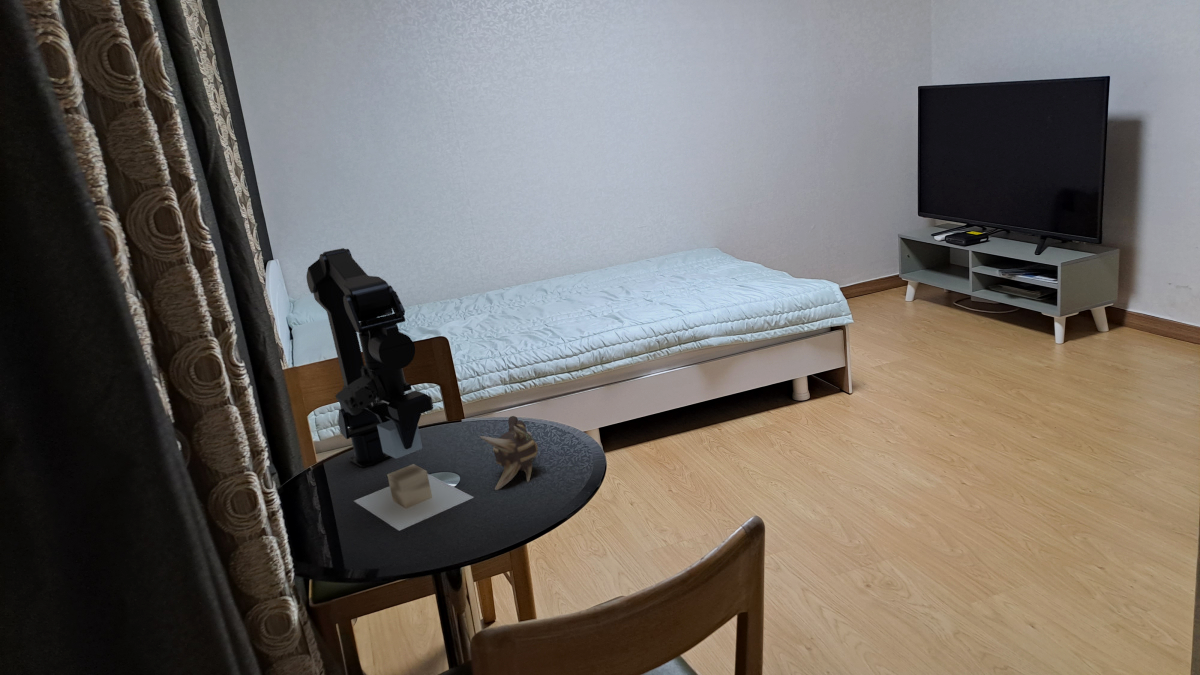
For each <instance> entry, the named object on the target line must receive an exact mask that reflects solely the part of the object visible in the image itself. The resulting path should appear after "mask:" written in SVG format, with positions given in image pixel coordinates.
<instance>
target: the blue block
mask: <svg viewBox="0 0 1200 675" xmlns="http://www.w3.org/2000/svg"><path fill="white" fill-rule="evenodd" d="M377 428H378V432H379V437H380V441H381V446H382V450H383V453H385V454H387V455H389V456H391V457H390V458H394V459H396V460H397V459H400V458H402V457H404V456H407V455H409V454H412V453H414V452H418V451H419V450H422V449H423V444H422V438H421V434H420V430H419V425H417V429H416V432H415V436H414V440H413V444H412V447H411V448H409V449H405V448H404V446H403V443H402V441H401V438H400V435H399V433H398V430H397V427H396V424H395V422H393V421H392V420H390V421H387V422H384V423H381V424H378V425H377Z"/></svg>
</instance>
